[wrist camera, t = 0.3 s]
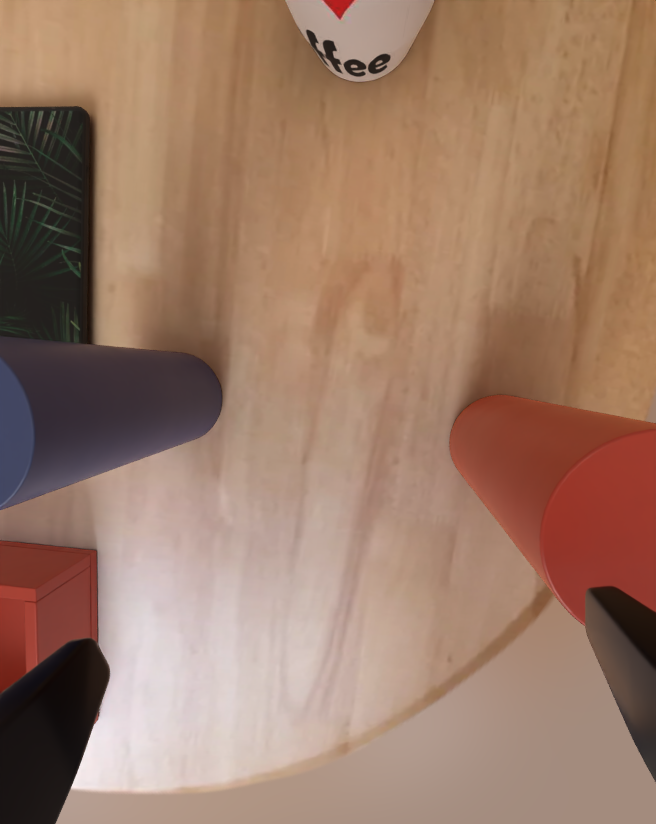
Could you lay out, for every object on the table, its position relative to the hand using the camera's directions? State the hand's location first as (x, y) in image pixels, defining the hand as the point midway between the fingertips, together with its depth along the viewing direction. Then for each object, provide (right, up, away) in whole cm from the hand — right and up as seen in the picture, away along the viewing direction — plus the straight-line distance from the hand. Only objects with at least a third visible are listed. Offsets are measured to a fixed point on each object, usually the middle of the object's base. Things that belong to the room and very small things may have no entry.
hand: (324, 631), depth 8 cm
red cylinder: (+9, +2, +14) cm, 17 cm away
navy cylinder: (-8, +5, +16) cm, 19 cm away
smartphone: (-16, +13, +17) cm, 27 cm away
